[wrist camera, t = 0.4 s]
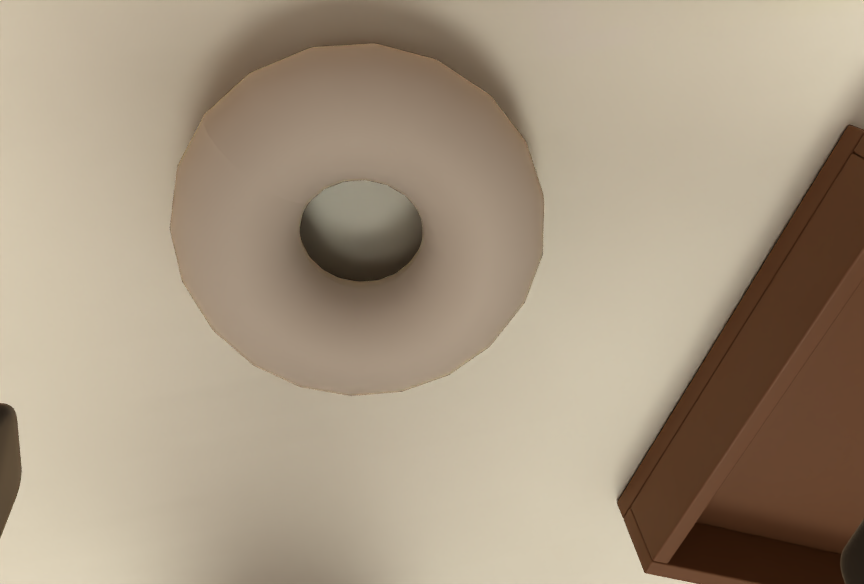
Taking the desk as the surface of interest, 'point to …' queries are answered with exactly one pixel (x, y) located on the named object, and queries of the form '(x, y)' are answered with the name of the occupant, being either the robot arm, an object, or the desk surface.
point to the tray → (771, 414)
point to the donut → (350, 161)
